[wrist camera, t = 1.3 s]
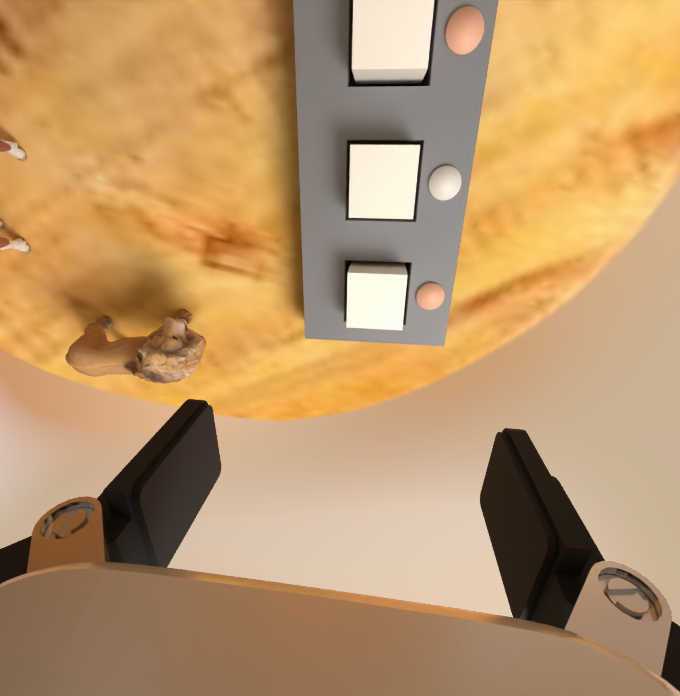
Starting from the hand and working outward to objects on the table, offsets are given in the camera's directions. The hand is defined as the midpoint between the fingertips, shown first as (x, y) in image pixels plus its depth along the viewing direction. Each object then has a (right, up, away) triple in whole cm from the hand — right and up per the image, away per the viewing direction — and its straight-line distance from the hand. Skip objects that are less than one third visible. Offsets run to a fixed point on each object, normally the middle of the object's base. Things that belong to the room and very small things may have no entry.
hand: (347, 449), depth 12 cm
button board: (+3, +15, +14) cm, 21 cm away
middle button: (+3, +15, +13) cm, 20 cm away
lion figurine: (-17, +5, +22) cm, 28 cm away
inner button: (+3, +22, +9) cm, 24 cm away
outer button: (+3, +8, +16) cm, 18 cm away
